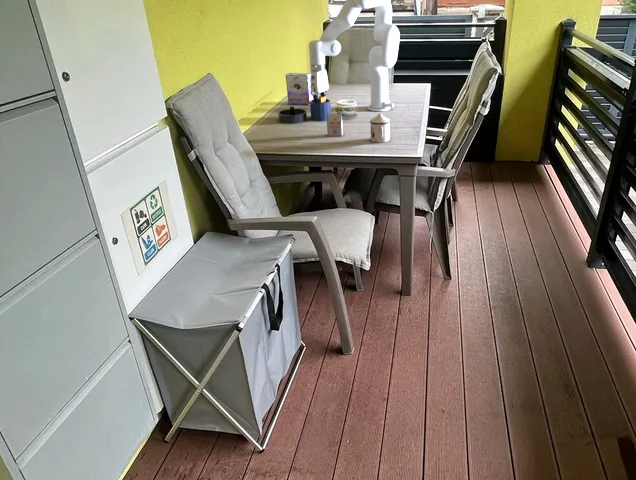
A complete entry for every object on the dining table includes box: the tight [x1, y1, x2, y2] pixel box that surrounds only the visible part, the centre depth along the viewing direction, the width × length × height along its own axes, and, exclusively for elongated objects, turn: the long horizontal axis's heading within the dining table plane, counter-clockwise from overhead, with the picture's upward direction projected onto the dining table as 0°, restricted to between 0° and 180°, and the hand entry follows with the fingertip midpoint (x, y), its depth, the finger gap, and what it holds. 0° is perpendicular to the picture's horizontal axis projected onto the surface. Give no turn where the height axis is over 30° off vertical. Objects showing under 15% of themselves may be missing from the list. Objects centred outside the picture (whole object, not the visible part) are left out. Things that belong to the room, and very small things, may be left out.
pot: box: [309, 98, 332, 122], centre depth 279 cm, size 10×10×9 cm
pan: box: [277, 108, 308, 124], centre depth 279 cm, size 15×15×4 cm
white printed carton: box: [326, 113, 344, 137], centre depth 251 cm, size 4×7×10 cm, turn 84°
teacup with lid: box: [369, 113, 391, 144], centre depth 241 cm, size 12×9×12 cm
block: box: [319, 95, 327, 103], centre depth 276 cm, size 4×4×4 cm
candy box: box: [285, 72, 314, 106], centre depth 306 cm, size 14×6×16 cm, turn 71°
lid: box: [289, 105, 299, 115], centre depth 278 cm, size 11×11×6 cm
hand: (320, 105), depth 277 cm, fingers closed on block, 4 cm apart
